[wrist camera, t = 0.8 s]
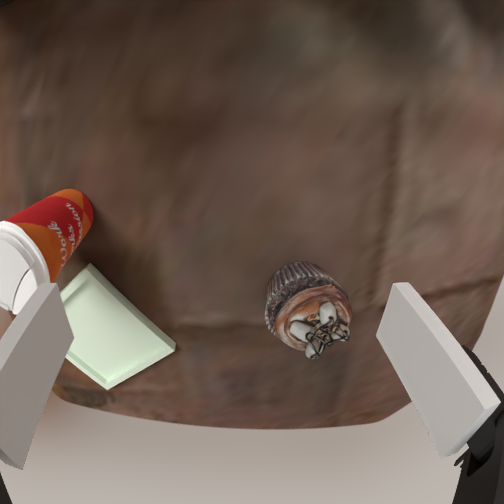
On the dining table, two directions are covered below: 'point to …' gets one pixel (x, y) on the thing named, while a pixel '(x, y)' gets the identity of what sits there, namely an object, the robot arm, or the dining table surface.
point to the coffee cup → (40, 244)
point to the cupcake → (307, 308)
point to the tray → (109, 331)
